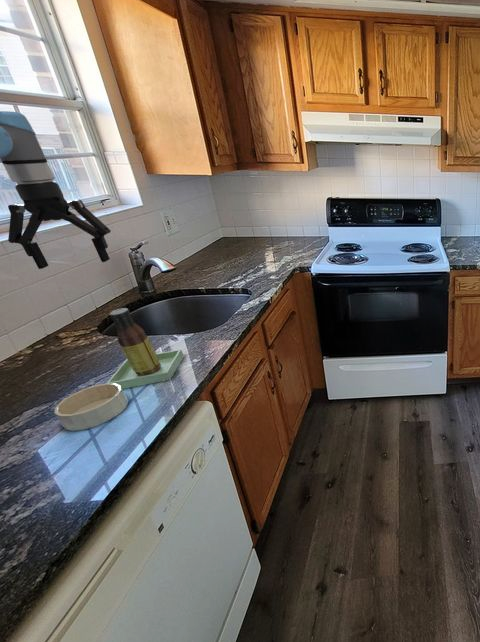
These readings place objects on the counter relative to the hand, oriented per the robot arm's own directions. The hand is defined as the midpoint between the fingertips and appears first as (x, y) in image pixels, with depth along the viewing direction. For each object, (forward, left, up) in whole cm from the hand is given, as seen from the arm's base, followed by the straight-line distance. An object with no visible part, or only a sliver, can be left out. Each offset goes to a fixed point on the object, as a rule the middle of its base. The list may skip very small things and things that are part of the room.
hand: (75, 264), depth 99 cm
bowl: (+4, -26, -32) cm, 41 cm away
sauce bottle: (+10, -10, -31) cm, 34 cm away
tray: (+10, -10, -32) cm, 35 cm away
